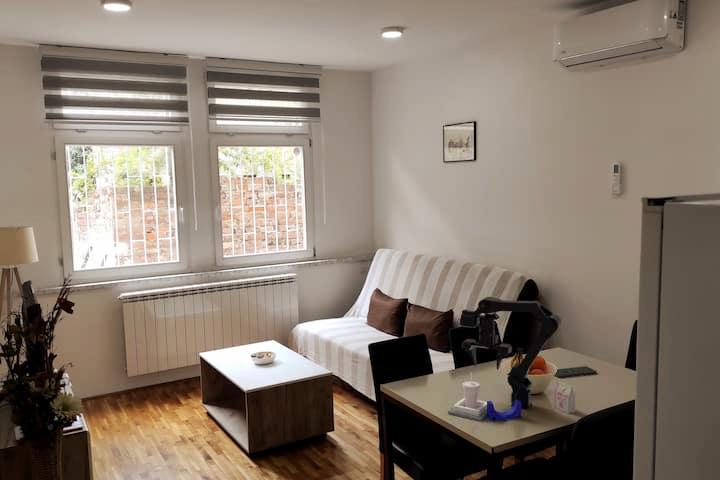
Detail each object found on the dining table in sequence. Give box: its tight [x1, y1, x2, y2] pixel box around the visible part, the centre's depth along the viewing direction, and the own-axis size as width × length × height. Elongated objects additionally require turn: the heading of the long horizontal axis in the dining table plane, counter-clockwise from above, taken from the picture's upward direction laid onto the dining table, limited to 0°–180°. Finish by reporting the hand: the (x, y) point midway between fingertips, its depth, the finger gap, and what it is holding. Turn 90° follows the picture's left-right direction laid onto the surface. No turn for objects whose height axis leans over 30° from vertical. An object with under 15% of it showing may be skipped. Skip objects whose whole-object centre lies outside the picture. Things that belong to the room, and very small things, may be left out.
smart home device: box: [554, 365, 598, 379], centre depth 267 cm, size 8×2×20 cm
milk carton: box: [553, 381, 576, 415], centre depth 225 cm, size 4×7×10 cm, turn 26°
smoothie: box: [462, 371, 481, 409], centre depth 224 cm, size 6×6×14 cm
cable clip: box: [486, 400, 522, 422], centre depth 218 cm, size 12×4×6 cm, turn 94°
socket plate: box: [447, 396, 487, 422], centre depth 224 cm, size 13×13×3 cm
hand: (486, 367), depth 235 cm, fingers open, 9 cm apart
